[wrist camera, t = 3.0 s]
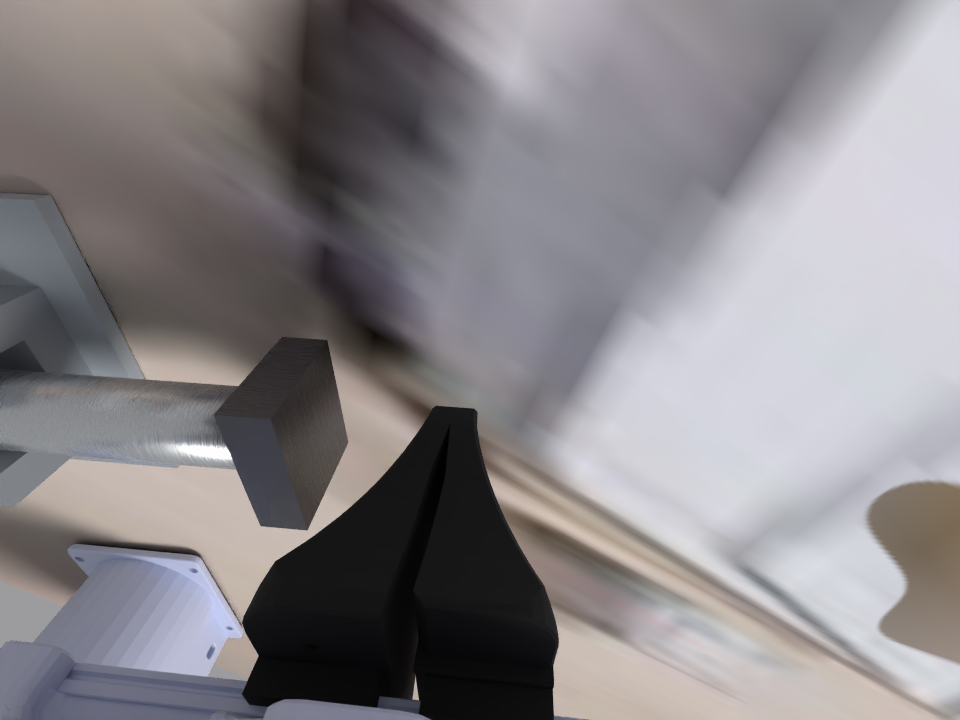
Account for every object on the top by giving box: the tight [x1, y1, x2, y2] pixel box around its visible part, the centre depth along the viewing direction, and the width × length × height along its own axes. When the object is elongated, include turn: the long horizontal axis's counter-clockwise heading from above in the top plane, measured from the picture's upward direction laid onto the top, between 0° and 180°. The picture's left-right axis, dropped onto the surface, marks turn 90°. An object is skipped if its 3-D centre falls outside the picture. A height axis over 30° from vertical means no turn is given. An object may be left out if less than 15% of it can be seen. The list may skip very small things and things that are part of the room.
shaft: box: [0, 337, 348, 530], centre depth 14 cm, size 5×16×4 cm, turn 89°
